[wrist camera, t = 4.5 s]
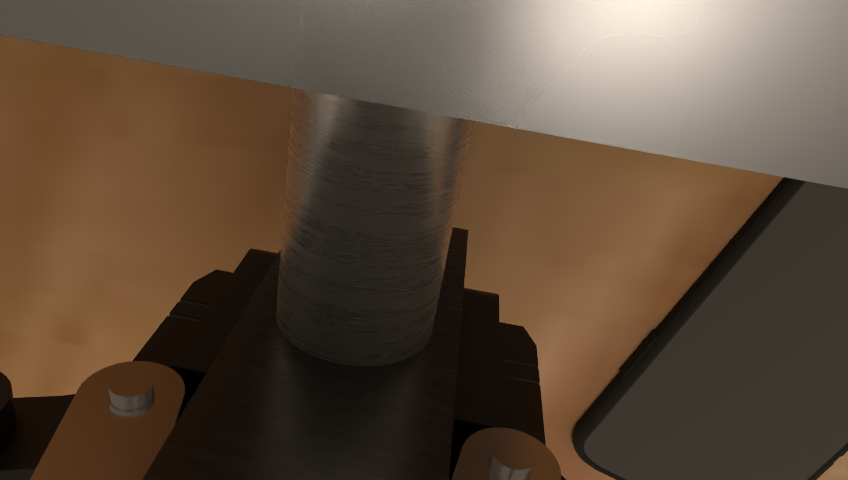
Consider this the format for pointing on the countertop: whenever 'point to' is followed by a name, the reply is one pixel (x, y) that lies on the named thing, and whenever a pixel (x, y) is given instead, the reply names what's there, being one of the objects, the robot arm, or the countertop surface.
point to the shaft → (344, 312)
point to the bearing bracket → (521, 64)
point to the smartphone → (741, 359)
